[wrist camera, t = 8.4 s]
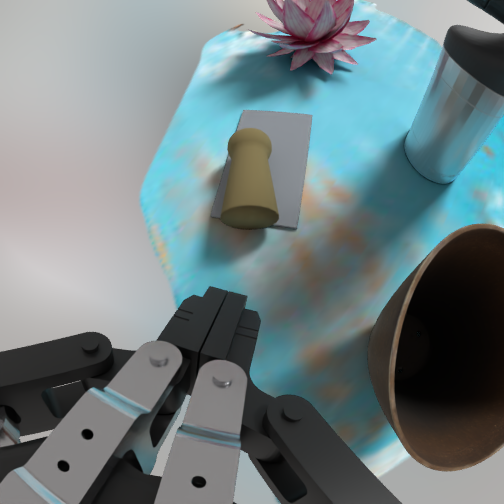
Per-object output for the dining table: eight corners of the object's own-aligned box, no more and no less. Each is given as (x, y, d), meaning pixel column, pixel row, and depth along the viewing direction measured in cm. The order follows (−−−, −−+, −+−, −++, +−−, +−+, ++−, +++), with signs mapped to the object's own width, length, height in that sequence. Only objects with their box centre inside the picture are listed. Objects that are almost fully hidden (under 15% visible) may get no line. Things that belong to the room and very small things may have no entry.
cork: (289, 221, 28) (283, 141, 32) (258, 198, 24) (256, 112, 27) (243, 233, 32) (244, 157, 35) (207, 215, 27) (214, 133, 30)
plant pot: (456, 282, 25) (549, 238, 10) (444, 407, 21) (534, 438, 6) (342, 273, 28) (394, 206, 13) (325, 412, 24) (358, 490, 8)
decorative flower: (232, 56, 42) (216, -7, 28) (309, 26, 44) (307, -28, 29) (315, 104, 35) (317, 18, 21) (390, 66, 37) (402, 3, 22)
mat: (243, 111, 36) (243, 110, 36) (312, 116, 34) (312, 115, 34) (211, 216, 32) (210, 215, 31) (296, 228, 30) (296, 227, 29)
